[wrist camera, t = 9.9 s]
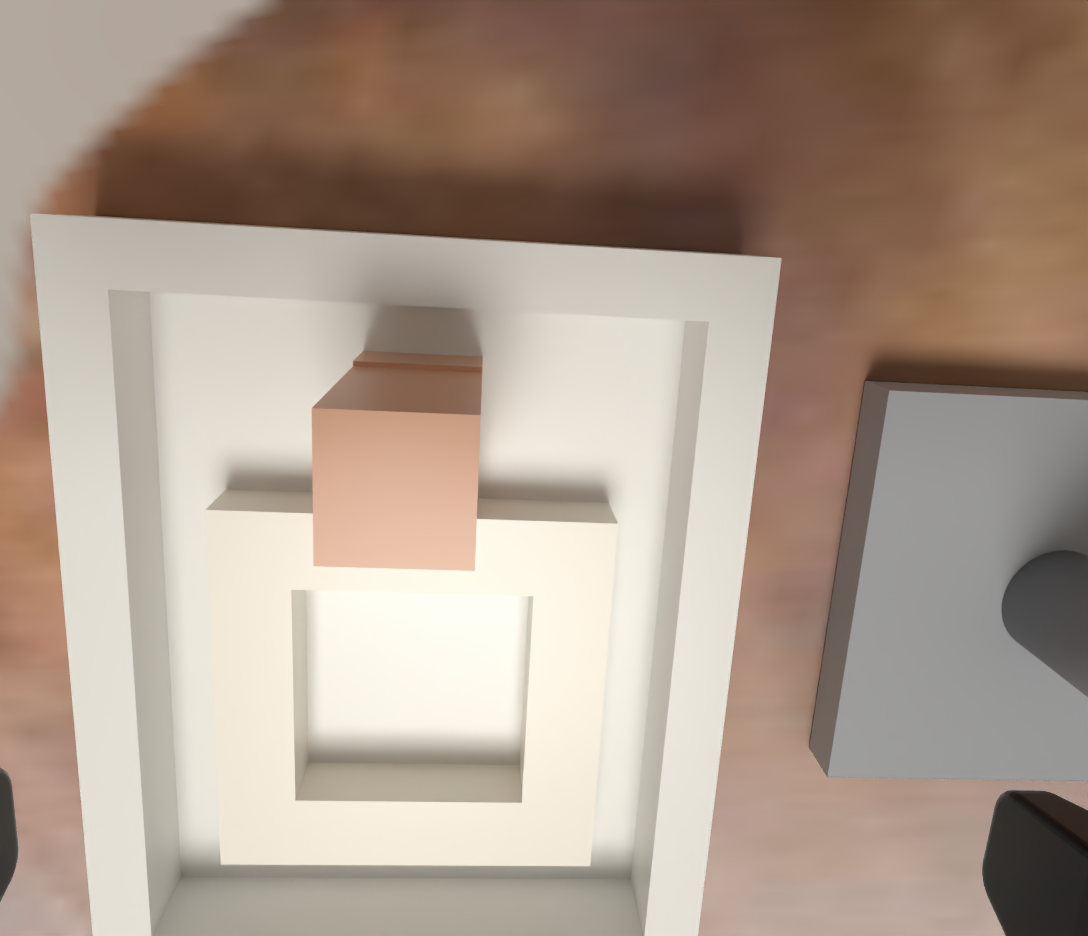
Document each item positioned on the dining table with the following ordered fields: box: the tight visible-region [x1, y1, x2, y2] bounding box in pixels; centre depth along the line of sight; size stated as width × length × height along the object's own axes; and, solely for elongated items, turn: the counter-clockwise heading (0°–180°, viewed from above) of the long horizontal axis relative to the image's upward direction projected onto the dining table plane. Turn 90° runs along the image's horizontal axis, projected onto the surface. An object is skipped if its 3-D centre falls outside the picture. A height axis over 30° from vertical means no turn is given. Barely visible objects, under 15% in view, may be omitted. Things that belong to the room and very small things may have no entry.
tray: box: [30, 214, 782, 936], centre depth 19 cm, size 13×16×2 cm
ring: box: [205, 351, 618, 866], centre depth 17 cm, size 8×11×5 cm
